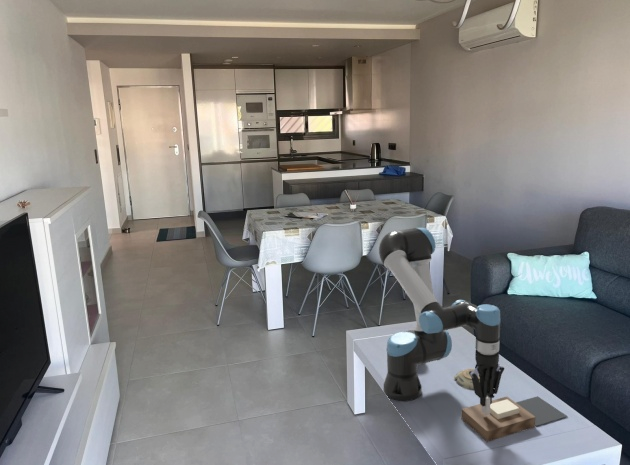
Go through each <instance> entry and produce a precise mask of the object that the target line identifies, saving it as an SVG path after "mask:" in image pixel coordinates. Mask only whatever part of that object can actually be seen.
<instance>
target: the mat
mask: <svg viewBox="0 0 630 465" xmlns="http://www.w3.org/2000/svg"><path fill="white" fill-rule="evenodd" d="M516 403H517V404H518V405H520V406H521V407H522V408H524V409H525V410H527V411H528V412H529V413H531V414H532V415H534V416H535V427H540V426H543V425H545V424H550V423H553V422H556V421H559V420H562V419H565V418H568V415H567V414H565V413H563V412H562V411H560V410H559V409H558V408H556V407H555V406H553V405H551V404H550V403H549V402H547V401H545V400H544V399H543V398H541V397H540V396H538V395H537V396H534V397H531V398H527V399H523V400H521V401H517V402H516Z"/></svg>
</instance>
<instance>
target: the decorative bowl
mask: <svg viewBox="0 0 630 465" xmlns="http://www.w3.org/2000/svg"><path fill="white" fill-rule="evenodd" d="M474 370H475V368H467V369H464V370H462V371H459V372H458V373H456V375H455V376H454V378H453V380H454V381H456V382H455V383H456V385H458V386H459V387H461V388H462V389H465V390H470V391H474V387H473V382H472V378H471V376H470V374H469V372H470V371H472V372H473V371H474ZM478 379H479V382H480V377H479V373H478Z"/></svg>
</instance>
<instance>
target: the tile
mask: <svg viewBox="0 0 630 465" xmlns="http://www.w3.org/2000/svg"><path fill="white" fill-rule="evenodd" d="M490 413H491V414H492V415H493V416H494V417H496V418H497V419H501V418H504V417H507V416H511V415H514V414H518V413H519V408H518V407H517V406H516V405H514V404H513V403H512V402H510V401H509V400H508V399H506V400H503V401H499V402H495V403H492V404H490Z"/></svg>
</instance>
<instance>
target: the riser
mask: <svg viewBox="0 0 630 465" xmlns="http://www.w3.org/2000/svg"><path fill="white" fill-rule="evenodd" d="M506 399H508V400H509V401H510V402H512V403H513V404H514V405H516V406H517V407H518V408H519V413H518V414H514V415H511V416H507V417H504V418H501V419H497V418H496V417H494V416H493V415H492V414H491V413H490V415H487V416H486V415H485V414H484V413H483V412H482V411H481V406H482V405H481V404H480V403H479V404H474V405H470V406H467V407H464V408H461V420H462V421H463V422H464V423H465V424H467V425H468V426H469V427H470V428H471V429H472V430H473V431H474V432H476V434H478V435H479V436H480V437H481V438H482V439H484V441H486V442H487V443H488V442H491V441H492V442H493V441H494V440H498V439H502V438H504V437H507V436H511V435H514V434H517V433H521V432H524V431H528V430H530V429H533V428H535V427H536V426H535V416H534V415H532V414H531V413H529V412H528V411H527V410H525V409H524V408H522V407H521V406H520V405H518V404H517V403H516V402H515V401H514V400H512V399H511V398H510V397H508V396H504V397H500V398H496V399H492V403H495V402H499V401H503V400H506Z"/></svg>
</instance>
